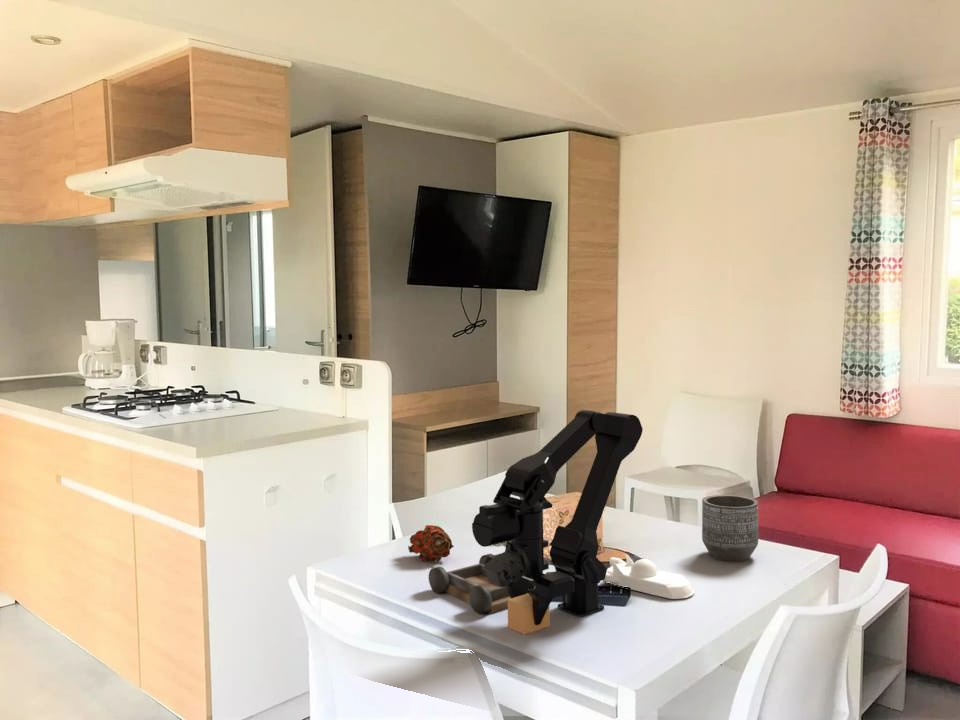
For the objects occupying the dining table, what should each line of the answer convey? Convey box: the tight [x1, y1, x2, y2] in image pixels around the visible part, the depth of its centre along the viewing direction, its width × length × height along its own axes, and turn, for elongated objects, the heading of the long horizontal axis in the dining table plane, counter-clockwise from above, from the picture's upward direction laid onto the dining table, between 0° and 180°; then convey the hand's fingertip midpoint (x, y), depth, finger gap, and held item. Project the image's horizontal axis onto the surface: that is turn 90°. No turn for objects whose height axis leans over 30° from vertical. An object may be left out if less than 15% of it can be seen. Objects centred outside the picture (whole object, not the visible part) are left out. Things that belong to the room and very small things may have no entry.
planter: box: [701, 494, 759, 563], centre depth 183 cm, size 12×12×13 cm
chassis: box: [428, 553, 535, 614], centre depth 162 cm, size 19×15×5 cm
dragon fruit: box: [407, 524, 455, 562], centre depth 185 cm, size 8×8×12 cm
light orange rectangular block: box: [507, 594, 551, 635], centre depth 145 cm, size 4×6×5 cm
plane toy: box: [603, 555, 695, 600], centre depth 164 cm, size 10×20×6 cm, turn 52°
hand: (528, 620), depth 145 cm, fingers closed on light orange rectangular block, 4 cm apart
